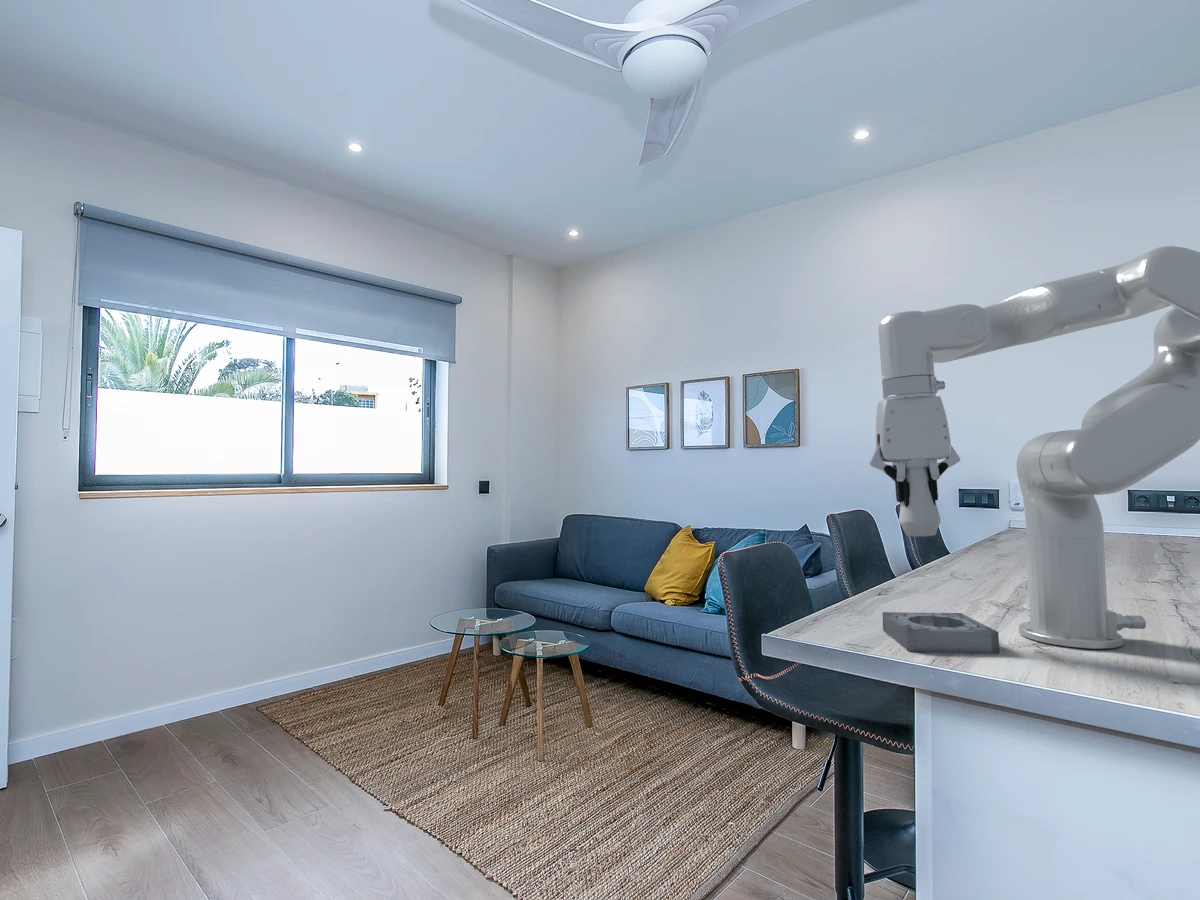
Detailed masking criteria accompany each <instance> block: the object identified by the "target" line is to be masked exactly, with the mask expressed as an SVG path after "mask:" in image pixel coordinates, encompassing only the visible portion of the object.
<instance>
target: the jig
mask: <svg viewBox="0 0 1200 900" xmlns="http://www.w3.org/2000/svg"><path fill="white" fill-rule="evenodd" d="M883 630H884V631H885V632H886V635H888V636H889V635H890V636H891V637H890V636H889V637H890V638H891V639H893V640H894V639H895V640H896V643H898V644H899V645H900V644H901V645H900V646H902V647H903V648H904V649H905V648H906V649H905V650H906V651H908V652H909V653H911V652H912V653H917V652H918V653H951V654H952V653H953V654H954V653H955V654H956V653H957V654H958V653H960V654H961V653H962V654H963V653H965V654H967V653H968V654H998V653H999V654H1000V640H999V634H1000V633H999V631H998V630H996V629H993V628H991V627H990V626H988V625H985V624H984V623H981V622H979V621H977V620H975V619H973V618H971V617H969V616H967V614H964V613H961V612H907V611H906V612H900V611H899V612H898V611H897V612H896V611H895V612H894V611H893V612H892V611H889V612H888V611H883V612H882V631H883ZM884 631H883V632H884ZM885 632H884V633H885ZM895 640H894V641H895Z"/></svg>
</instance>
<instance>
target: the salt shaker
mask: <svg viewBox="0 0 1200 900" xmlns="http://www.w3.org/2000/svg"><path fill="white" fill-rule="evenodd" d="M928 466H929V461H928V460H927V459H924V458H921V457H916V458H915V459H912V460H909V461H905V478H906V481H908V482H909V490H910V496H909V506H908V507H905V504H904V501H903V502H901V506H900V507H899V508H900V509H899V517H898V522H899V524H900V526H901V528H902V530H903V532H904V534H905V535H906V537H907V536H908V537H931V536H936V534H937V532H938V529H939V527H940V524H941V516H940V513H939V510H938V509H939V508H938V505H937V503H936V502H937V501H935V503H936V504H935V505H934V503H933V500H932V497H931V493H930V490H929V485H928V481H929V479H928V473H927V470H926V468H927V467H928Z"/></svg>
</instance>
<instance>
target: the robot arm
mask: <svg viewBox="0 0 1200 900" xmlns="http://www.w3.org/2000/svg"><path fill="white" fill-rule="evenodd" d="M1170 306H1171V307H1173V308H1171V309H1169V310H1168V311H1167V312H1165V314H1163V316H1161V318H1160V319H1159V320H1158V322H1157V323H1156V325H1155V328H1154V331H1153V346H1154V350H1153V351H1154V357H1153V360H1152V361H1153V362H1151V365H1150V366H1148V367H1147V368H1146V369H1145V370H1142V372H1141V373H1140V374H1138V375H1137V376H1135V377H1134V378H1132V379H1131V380H1129V381H1128V382H1126V383H1125V384H1123V385H1122V386H1120V387H1119V388H1117V389H1115V390H1114V391H1111V392H1110V393H1109V394H1107V395H1106V396H1104V397H1102V398H1101V399H1099V400H1098V401H1096V402H1095V403H1094V404H1093V405H1092V406H1090V408H1088V409H1087V410H1086V412H1085V413H1084V416H1083V418H1082V420H1081V425H1080V426H1081V428H1079V429H1069V430H1062V431H1061V430H1059V431H1053V432H1047V433H1043V434H1040V435H1037V436H1035V437H1033V438H1031V439H1029V441H1027V442H1026V443H1025V444H1024V445H1023V446H1022V448H1021V449H1020V451H1019V452H1018V455H1017V458H1016V465H1015V466H1016V474H1017V475H1016V476H1017V478H1018V483H1019V488H1020V492H1021V496H1022V499H1023V500H1022V501H1023V507H1024V517H1025V532H1026V533H1025V539H1026V543H1025V544H1026V559H1027V560H1026V562H1027V580H1028V581H1027V582H1028V600H1029V601H1028V603H1029V619H1030V621H1025V622H1022V623H1020V624H1019V625H1018V630H1019V631H1018V632H1019V633H1020V635H1021V636H1023V637H1025V638H1028V639H1030V640H1033V641H1037V642H1041V643H1044V644H1050V645H1055V646H1062V647H1069V648H1078V649H1079V648H1080V649H1094V650H1095V649H1096V650H1097V649H1099V650H1100V649H1101V650H1103V649H1104V650H1105V649H1115V648H1119V647H1121V646H1123V644H1124V638H1123V637H1124V636H1122V634H1120V633H1118V631H1122V630H1123V629H1130V630H1133V629H1135V630H1139V629H1140V630H1144V629H1145V628H1146V626H1147V622H1146V619H1145V617H1143V615H1128V614H1127V615H1123V614H1122V613H1118V612H1116V611H1113V610H1111V609H1108V593H1107V577H1106V561H1105V560H1106V559H1105V557H1106V556H1105V542H1104V541H1105V540H1104V539H1105V535H1104V534H1105V533H1104V530H1105V529H1104V523H1103V516H1102V513H1101V509H1100V506H1099V504H1098V501H1097V498H1096V497H1095V496H1101V495H1103V496H1104V495H1110V494H1115V493H1118V492H1121V491H1123V490H1126V489H1128V488H1130V487H1132V486H1134V485H1135V484H1137V483H1139V482H1140V481H1142V480H1144V479H1145V478H1147V477H1148V476H1150V475H1151V474H1153V473H1154V472H1156V471H1157V470H1160V469H1161V468H1163V467H1164V466H1165V465H1167V464H1169V463H1170V462H1172V461H1173V460H1174V459H1177V458H1178V457H1179V456H1181V455H1182V454H1184V453H1185V452H1187V451H1188V450H1190V449H1191V448H1193V447H1194V446H1195V445H1196V444H1197V443H1198V442H1199V441H1200V252H1199V251H1197V250H1193V249H1192V248H1187V247H1182V246H1174V245H1167V246H1160V247H1156V248H1153V249H1152V250H1149V251H1148V252H1145V253H1143V254H1140V255H1139V256H1136V257H1134V258H1132V259H1130V260H1129V261H1126V262H1124V263H1120V264H1118V265H1114V266H1111V267H1106V268H1101V269H1099V270H1094V271H1090V272H1085V273H1082V274H1078V275H1073V276H1069V277H1065V278H1062V279H1056V280H1052V281H1049V282H1044V283H1042V284H1038V285H1035V286H1033V287H1031V288H1027V289H1025V290H1024V291H1023V290H1022V291H1021V292H1019V293H1016V294H1015V295H1012V296H1010V297H1008V298H1006V299H1004V300H1001V301H999V302H996V303H993V304H991V305H988V306H985V307H982V306H979V305H976V304H971V303H962V304H955V305H950V306H946V307H943V308H942V307H941V308H937V309H930V310H926V311H919V310H908V311H901V312H896V313H895V312H894V313H892V314H889V315H887V316H884V317H883V318H882V319H881V320H880V322H879V323H878V326H877V327H878V329H877V331H878V332H877V333H878V341H879V342H878V344H879V358H880V359H879V360H880V371H881V372H880V373H881V382H882V399H883V400H880V401H877V406H876V407H877V408H876V415H875V416H876V417H875V419H876V420H875V451H874V453H873V455H872V457H871V460H870V462H869V466H870V467H872V468H874V469H876V470H879V471H881V472H883V473H884V474H885V475H887V476H888V477H889V478H890V479H891V480H892V481H893V482H894V485H895V499H896V502H897V503H899V506H900V507H901V502H903V501H904V504H905V507H908V506H909V496H910V490H909V482H908V481H906V478H905V461H909V460H912V459H915V458H916V457H921V458H924V459H927V460H928V461H929V466H928V467H927V468H926V470H927V473H928V479H929V481H928V485H929V490H930V493H931V497H932V500H933V503H934V505H935V504H936V505H937V503H935V502H936V501H939V500H938V499H939V492H938V480H939V479H940V478H941V475H943V474H944V472H946V471H947V469H949V468H951V467H953V466H954V465H956V464H959V462H960V461H961V457H960V456H959V455H958V453H957V452H956V449H955V448H954V446H953V445H952V443H951V433H950V428H949V423H948V419H947V418H948V417H947V414H946V410H945V406H944V403H943V401H942V398H941V397H942V396H940V395H939V396H938V395H937V394H938V391H940V390H942V391H943V390H945V388H946V382H945V381H944V380H941V381H940V380H937V376H935V365H934V364H938V363H939V364H942V363H948V362H953V361H956V360H961V359H965V358H970V357H975V356H978V355H982V354H987V353H990V352H994V351H999V350H1003V349H1007V348H1010V347H1015V346H1021V345H1026V344H1031V343H1036V342H1040V341H1044V340H1047V339H1052V338H1054V337H1055V338H1056V337H1059V336H1063V335H1067V334H1071V333H1072V334H1073V333H1075V332H1079V331H1084V330H1087V329H1092V328H1096V327H1102V326H1106V325H1111V324H1114V323H1120V322H1123V321H1128V320H1131V319H1135V318H1138V317H1141V316H1144V315H1147V314H1150V313H1153V312H1156V311H1159V310H1162V309H1165V308H1168V307H1170ZM938 460H942V461H940V462H938ZM887 463H891V465H890V464H887Z"/></svg>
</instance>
